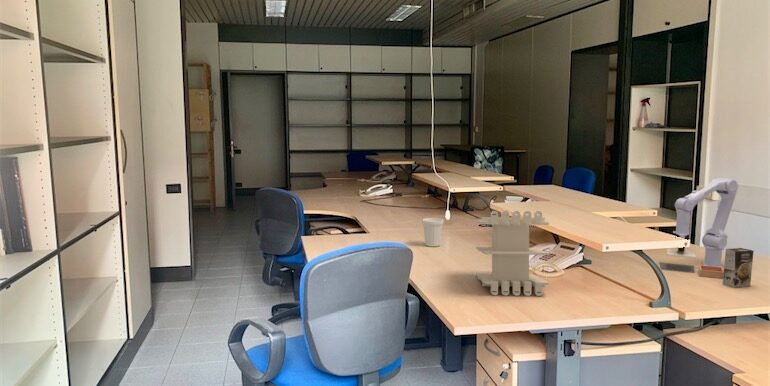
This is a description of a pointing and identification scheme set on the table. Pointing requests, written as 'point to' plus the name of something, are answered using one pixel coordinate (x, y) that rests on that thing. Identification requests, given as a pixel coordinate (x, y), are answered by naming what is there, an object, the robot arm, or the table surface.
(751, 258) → the coffee box
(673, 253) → the lid
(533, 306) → the table surface
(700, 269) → the open box
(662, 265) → the mat
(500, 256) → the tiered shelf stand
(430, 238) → the cup
